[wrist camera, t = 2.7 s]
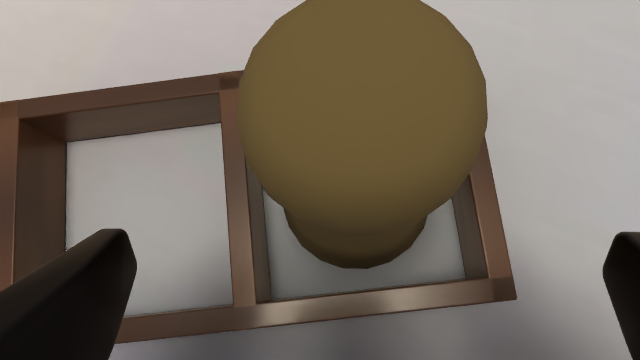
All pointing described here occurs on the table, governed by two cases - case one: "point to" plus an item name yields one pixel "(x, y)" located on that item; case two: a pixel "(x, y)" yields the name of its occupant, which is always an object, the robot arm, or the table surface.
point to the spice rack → (242, 210)
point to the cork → (361, 123)
